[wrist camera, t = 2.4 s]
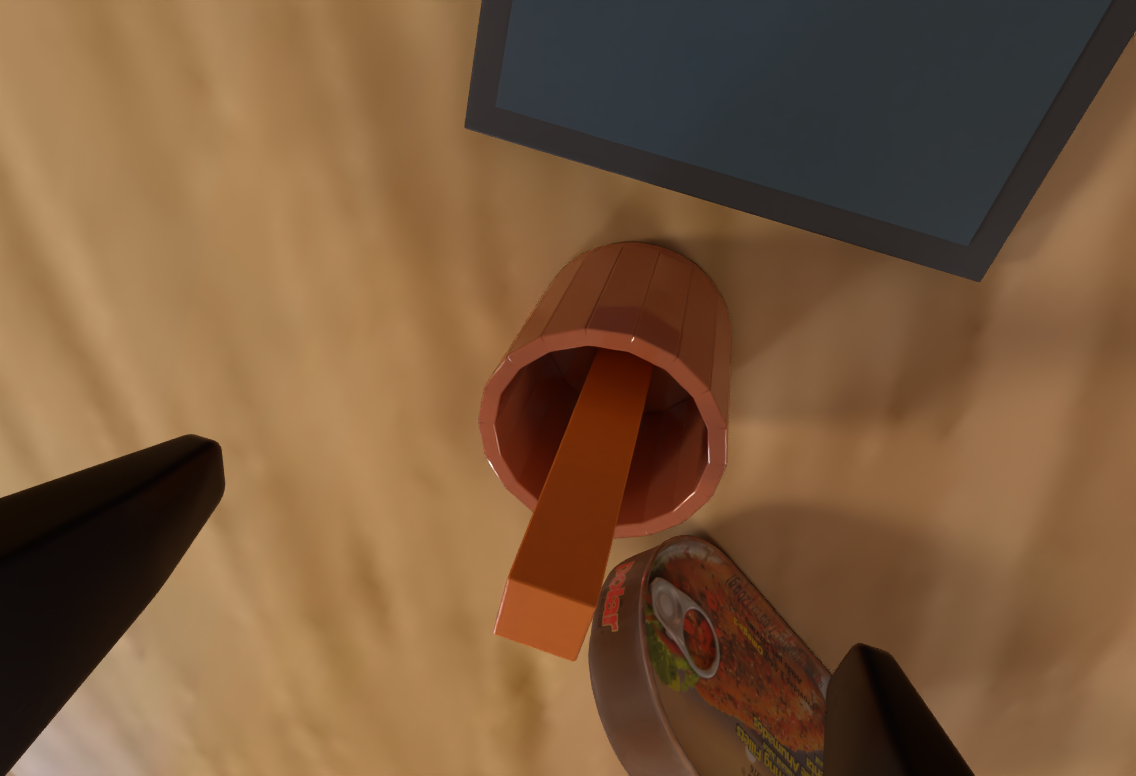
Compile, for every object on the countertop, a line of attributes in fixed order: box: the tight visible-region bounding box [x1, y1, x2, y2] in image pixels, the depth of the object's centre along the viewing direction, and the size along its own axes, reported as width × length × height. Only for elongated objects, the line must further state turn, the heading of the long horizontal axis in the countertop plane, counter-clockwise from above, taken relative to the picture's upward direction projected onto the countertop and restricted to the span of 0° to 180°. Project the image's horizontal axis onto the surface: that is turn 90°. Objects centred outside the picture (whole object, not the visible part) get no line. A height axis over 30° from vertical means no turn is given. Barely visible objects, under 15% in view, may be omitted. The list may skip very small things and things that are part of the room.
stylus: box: [494, 347, 654, 661], centre depth 17 cm, size 2×2×11 cm
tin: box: [588, 535, 832, 776], centre depth 24 cm, size 15×3×8 cm, turn 41°
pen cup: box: [478, 242, 732, 538], centre depth 19 cm, size 6×6×6 cm
